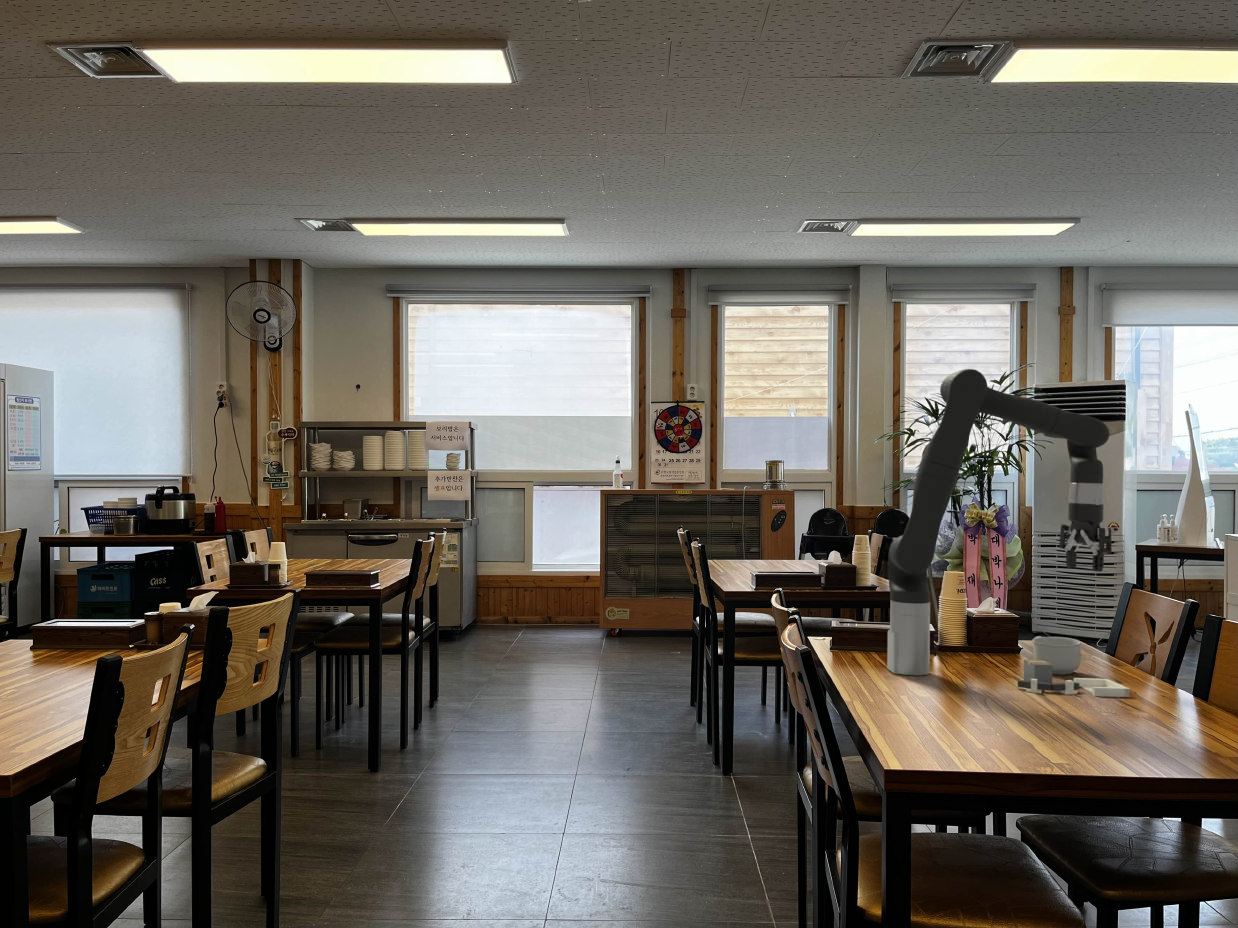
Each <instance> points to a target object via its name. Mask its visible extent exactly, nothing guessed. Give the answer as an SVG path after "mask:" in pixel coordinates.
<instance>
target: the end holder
mask: <svg viewBox="0 0 1238 928" xmlns="http://www.w3.org/2000/svg"><path fill="white" fill-rule="evenodd" d="M1073 681H1074V682H1077V683H1079V688H1082V689H1083V690H1085V691H1087V692H1089V693H1092V696H1093V697H1110V698H1111V697H1114V698H1118V697H1121V698H1130V696H1131V695H1130V693H1131V691H1130V690H1131V688H1129V687H1126V686H1124V685H1122V684H1120V683H1118V682H1115V681H1113V680H1110V679H1108V678H1093V677H1092V678H1089V677H1088V678H1087V677H1082V678H1081V677H1073Z"/></svg>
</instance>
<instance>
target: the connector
mask: <svg viewBox="0 0 1238 928" xmlns="http://www.w3.org/2000/svg"><path fill="white" fill-rule="evenodd" d="M1031 679H1037V682H1044V683H1053V674H1052V665H1051V664H1049V663H1048V662H1046V661H1043V660H1034V659H1027V658H1026V659H1023V680H1026V681H1031Z"/></svg>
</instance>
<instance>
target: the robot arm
mask: <svg viewBox="0 0 1238 928" xmlns="http://www.w3.org/2000/svg"><path fill="white" fill-rule="evenodd" d="M939 389H940V390H939V392H940V397H941V398H942V400H943V402H944V403H945V407H944V411H943V414H942V415H943V416H942V418H941V420H940V422H939V425H938V427H937V429H936V430H935V432H934V434H933V435H932V437H931V439H930V440H929V442H928V444H927V446H926V448H925V449H924V452H923V454H922V456H921V460H920V463H919V465H918V469H917V472H916V475H915V479H914V485H913V494H912V506H911V511H910V512H911V513H910V516H909V519H908V522H907V524H906V527H905V529H904V532H903V533H902V534H903V535H899V536H898V537H896V538H895V539H894V540H893V541H892V542H891V544H890V546H889V549H888V587H889V592H890V594H889V595H890V597H889V598H890V601H889V602H890V605H889V606H890V607H889V608H890V612H889V613H890V616H889V617H890V618H889V619H890V621H889V622H890V623H889V629H888V630H887V655H886V656H887V659H886V663H887V666H886V669H887V670H888V671H890V672H892V674H896V675H897V674H898V675H899V674H900V675H903V676H904V675H906V676H925V675H929V674H930V667H931V665H930V656H931V655H930V646H931V643H930V641H931V639H930V637H931V634H930V633H931V628H930V627H931V590H930V587H929V583H928V569H929V568H930V567H931V565H932V564H933V560H934V557H935V552H936V546H937V543H938V542H937V541H938V537H939V533H940V527H941V524H942V521H943V518H944V516H945V513H946V511H947V508H948V505H949V502H950V500H951V498H952V494H953V492H954V489H955V486H956V483H957V480H958V477H959V474H960V471H961V468H962V467H961V466H962V463H963V459H964V457H965V454H966V450H967V447H968V443H969V438H970V435H971V432H972V429H973V426H974V423H975V422H976V419H977V417H978V414H979V413H981V414H985V415H989V416H992V417H996V418H998V419H1001V420H1005V421H1008V422H1010V423H1013V424H1015V425H1018V426H1021V427H1023V428H1026V429H1028V430H1032V431H1035V432H1037V433H1039V434H1042V435H1046V436H1049V437H1053V438H1054V437H1055V438H1062V439H1066V446H1067V452H1068V458H1069V462H1070V481H1069V482H1070V483H1069V490H1068V507H1067V508H1068V512H1067V513H1068V515H1067V516H1068V517H1067V519H1068V521H1070V522H1071V524H1060V525H1061V526H1060V534H1059V535H1060V537H1059V548H1060V549H1062V550H1064V552H1066V555H1065V560H1066V561H1065V564H1066V567H1067V568H1073V569H1075V568H1076V567H1077V557H1078V556H1077V553H1078V552H1077V550H1078V549H1079V547H1080V546H1082V545H1087V547H1088V548H1090V551H1091V552H1092V554H1093V555H1092V571H1093V572H1102V571H1103V569H1104V558H1105V555H1107V554H1112V529H1111V528H1110V527H1101V524H1100V523H1102V522H1103V521H1104V504H1105V503H1104V502H1105V500H1104V499H1105V492H1104V491H1105V490H1104V484H1103V483H1104V466H1103V462H1102V461H1101V460H1099V459H1098V454H1097V448H1100V447H1103V446H1104V445H1105V444H1106V443H1107V442H1108V440H1109V438H1110V430H1109V427H1108V426H1107V424H1106V423H1104V421H1102V420H1100V419H1099V418H1095V417H1092V416H1089V415H1085V414H1081V413H1076V412H1071V411H1066V410H1064V409H1063V408H1059V407H1057V406H1054V405H1051V404H1048V403H1045V402H1043V401H1040V400H1036V399H1034V398H1028V397H1024V396H1019V395H1015V394H1010V393H1005V392H1003V391H999V390H998V389H997V390H996V389H993V388H992V387H989V386H988V383H987V379H986V377H985V375H983V373H982V372H980V371H978V370H977V369H972V368H965V369H962V370H958V371H955V372H953V373H951V374H949V375H947V376H946V377H945V378H944V379H943V380H942V382H941V383H940V387H939Z"/></svg>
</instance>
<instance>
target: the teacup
mask: <svg viewBox="0 0 1238 928" xmlns="http://www.w3.org/2000/svg"><path fill="white" fill-rule="evenodd" d="M1031 642H1032V649H1033V650H1032V651H1033V660H1043V661H1046V662H1048V663H1049V664H1051V665H1052V675H1063V676H1064V675H1071V674H1073V673H1074V672H1075V671H1076V670H1077V669H1079V667H1080V666H1081V659H1082V654H1081V650H1082V648H1081V645H1082V642H1081V641H1080V640H1078V639H1075V638H1070V637H1063V636H1040V635H1039V636H1035V637H1034V638H1033V639H1032V641H1031Z"/></svg>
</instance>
